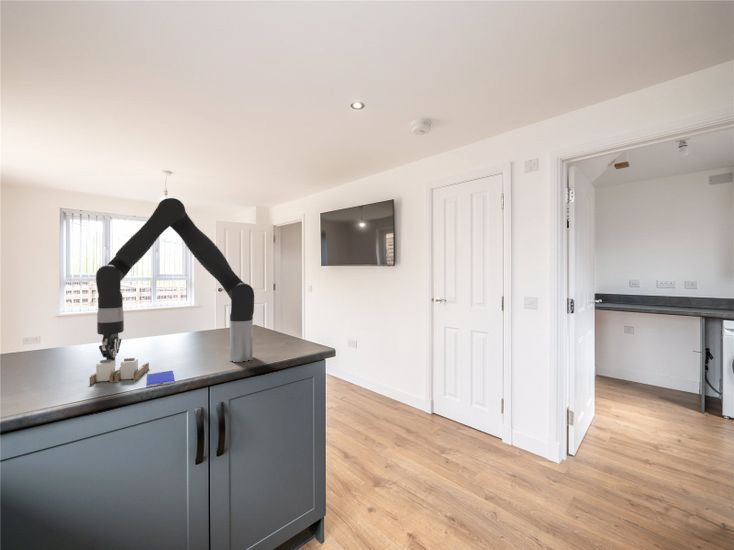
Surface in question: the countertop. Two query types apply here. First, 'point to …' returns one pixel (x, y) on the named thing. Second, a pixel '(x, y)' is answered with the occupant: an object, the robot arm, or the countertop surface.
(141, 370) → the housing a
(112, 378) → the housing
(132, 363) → the tab
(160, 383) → the hard drive
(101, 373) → the tab
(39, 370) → the countertop surface
